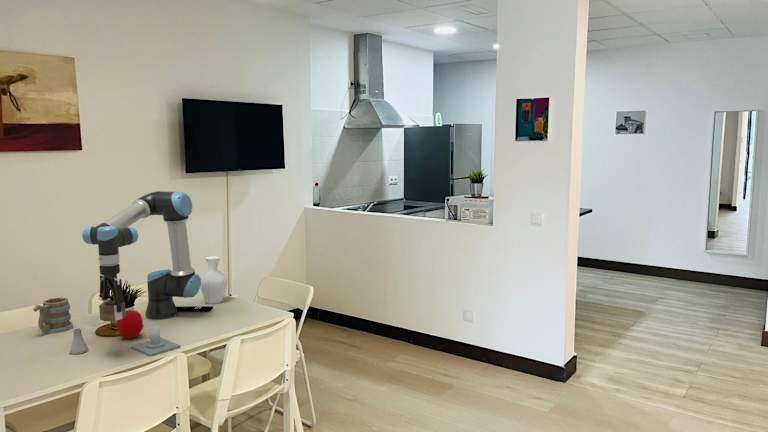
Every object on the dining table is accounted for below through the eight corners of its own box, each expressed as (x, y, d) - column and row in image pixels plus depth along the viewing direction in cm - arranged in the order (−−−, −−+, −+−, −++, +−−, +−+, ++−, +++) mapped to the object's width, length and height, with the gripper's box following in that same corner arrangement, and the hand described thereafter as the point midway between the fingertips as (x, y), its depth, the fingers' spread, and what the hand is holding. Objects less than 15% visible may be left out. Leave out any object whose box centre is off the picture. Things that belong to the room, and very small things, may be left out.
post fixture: (130, 348, 252) (129, 326, 251) (160, 339, 263) (159, 319, 262) (150, 356, 242) (149, 334, 241) (180, 347, 253) (179, 326, 252)
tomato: (140, 341, 261) (138, 313, 259) (114, 342, 259) (112, 314, 258) (146, 332, 272) (144, 306, 270) (121, 334, 270) (120, 307, 269)
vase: (212, 306, 314) (211, 261, 311) (195, 302, 322) (193, 258, 318) (233, 300, 326) (231, 256, 322) (215, 296, 334) (214, 254, 330)
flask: (75, 348, 252) (73, 326, 250) (91, 348, 251) (90, 326, 250) (65, 354, 244) (64, 331, 243) (82, 355, 244) (81, 332, 243)
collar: (97, 318, 242) (96, 304, 241) (118, 313, 249) (117, 299, 248) (107, 322, 236) (106, 308, 235) (129, 317, 243) (128, 303, 242)
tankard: (56, 323, 285) (53, 294, 283) (78, 325, 282) (76, 295, 280) (23, 337, 265) (20, 305, 263) (47, 339, 263) (44, 307, 261)
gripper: (88, 262, 243) (91, 314, 246) (113, 269, 230) (116, 324, 233) (105, 259, 249) (109, 310, 252) (131, 266, 236) (134, 320, 239)
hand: (112, 317), depth 242 cm, fingers closed on collar, 9 cm apart
